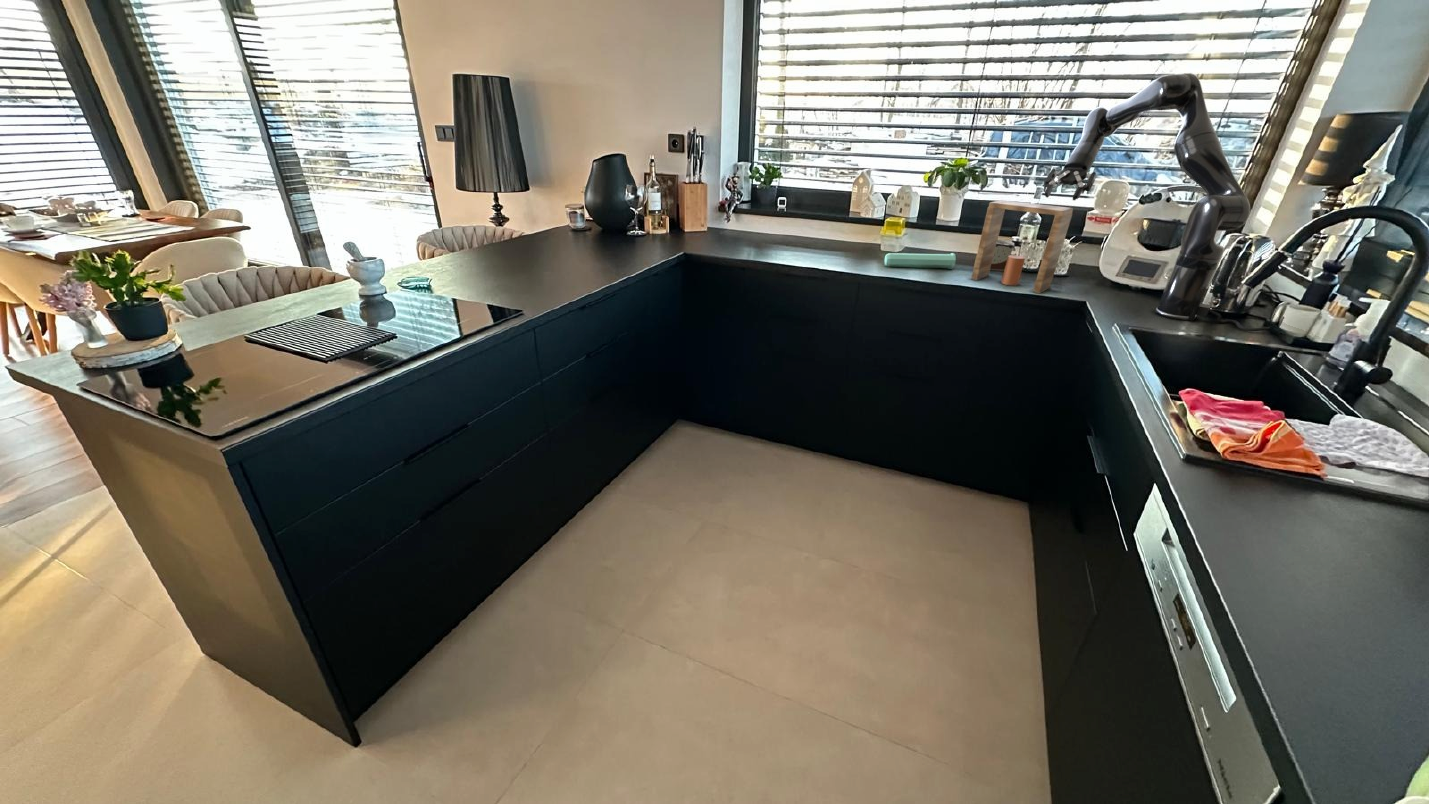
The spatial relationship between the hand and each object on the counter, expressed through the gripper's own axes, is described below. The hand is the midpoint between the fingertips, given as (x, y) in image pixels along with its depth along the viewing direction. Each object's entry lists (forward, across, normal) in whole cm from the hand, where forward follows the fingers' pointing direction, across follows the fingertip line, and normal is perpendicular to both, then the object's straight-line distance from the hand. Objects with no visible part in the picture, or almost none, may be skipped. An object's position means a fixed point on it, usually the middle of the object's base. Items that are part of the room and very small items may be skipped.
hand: (1060, 197), depth 189 cm
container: (+36, -34, +2) cm, 50 cm away
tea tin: (+33, -2, +4) cm, 34 cm away
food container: (+22, -16, +16) cm, 31 cm away
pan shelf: (+34, -2, +4) cm, 34 cm away
